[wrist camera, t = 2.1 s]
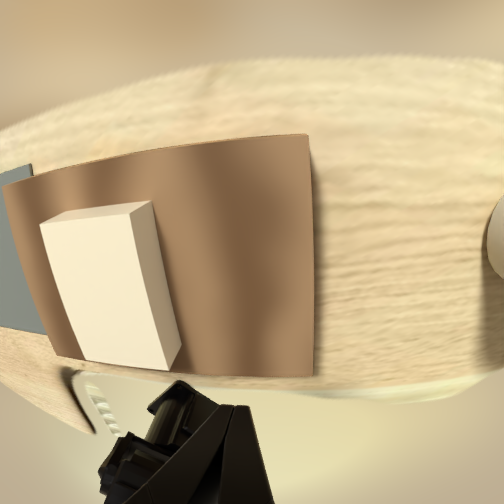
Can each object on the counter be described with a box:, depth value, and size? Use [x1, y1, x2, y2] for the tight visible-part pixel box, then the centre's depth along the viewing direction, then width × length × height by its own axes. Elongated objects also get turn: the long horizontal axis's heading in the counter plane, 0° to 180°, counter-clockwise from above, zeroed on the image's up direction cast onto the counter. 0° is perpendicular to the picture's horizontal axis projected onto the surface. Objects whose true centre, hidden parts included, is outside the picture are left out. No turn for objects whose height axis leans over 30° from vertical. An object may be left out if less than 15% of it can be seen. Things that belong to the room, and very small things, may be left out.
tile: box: [39, 201, 182, 371], centre depth 17 cm, size 6×9×2 cm, turn 5°
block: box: [2, 134, 314, 377], centre depth 20 cm, size 20×14×4 cm
